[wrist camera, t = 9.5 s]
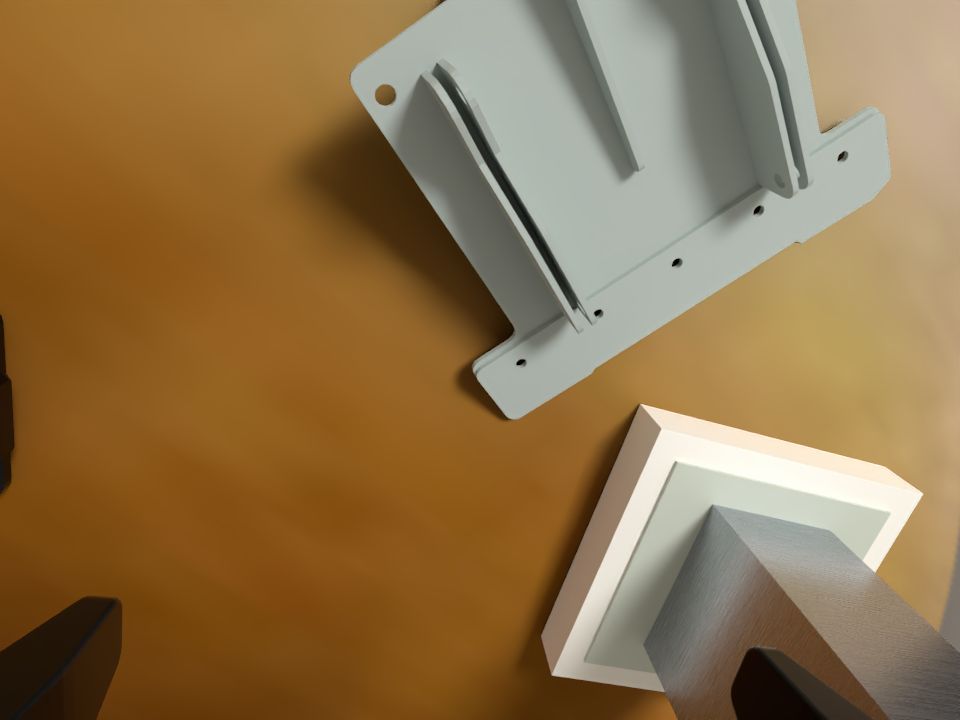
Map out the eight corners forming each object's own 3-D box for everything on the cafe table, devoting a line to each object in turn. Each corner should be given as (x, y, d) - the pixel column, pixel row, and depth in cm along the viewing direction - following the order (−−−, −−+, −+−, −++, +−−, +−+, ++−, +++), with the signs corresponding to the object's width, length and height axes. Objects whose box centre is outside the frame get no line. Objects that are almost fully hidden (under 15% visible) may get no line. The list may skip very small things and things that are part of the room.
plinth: (540, 635, 26) (552, 678, 24) (640, 403, 23) (663, 430, 21) (764, 672, 28) (791, 713, 26) (884, 466, 25) (926, 495, 23)
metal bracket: (249, 111, 13) (899, -364, 11) (256, 63, 18) (720, -280, 16) (541, 472, 22) (934, 230, 20) (495, 377, 26) (811, 173, 25)
